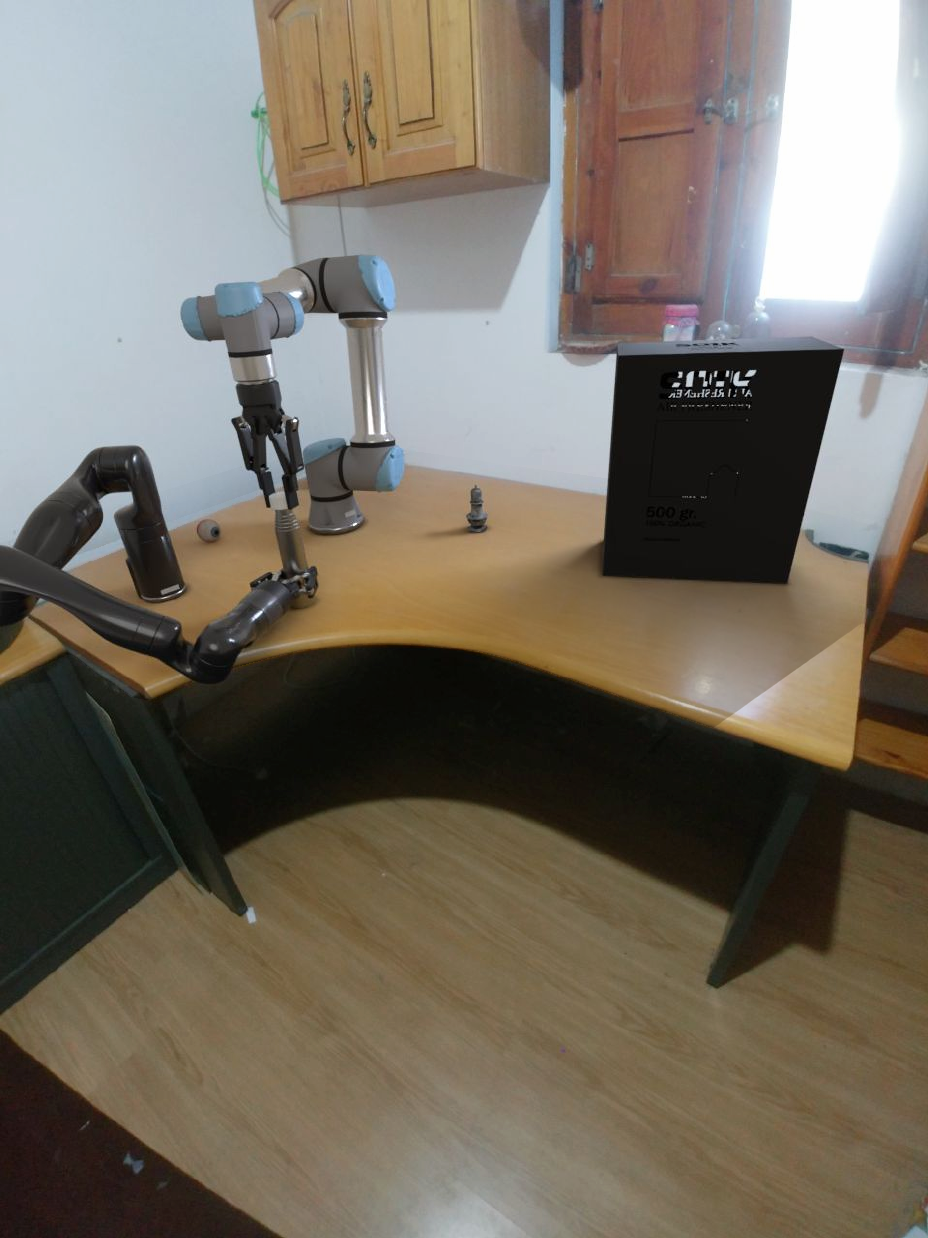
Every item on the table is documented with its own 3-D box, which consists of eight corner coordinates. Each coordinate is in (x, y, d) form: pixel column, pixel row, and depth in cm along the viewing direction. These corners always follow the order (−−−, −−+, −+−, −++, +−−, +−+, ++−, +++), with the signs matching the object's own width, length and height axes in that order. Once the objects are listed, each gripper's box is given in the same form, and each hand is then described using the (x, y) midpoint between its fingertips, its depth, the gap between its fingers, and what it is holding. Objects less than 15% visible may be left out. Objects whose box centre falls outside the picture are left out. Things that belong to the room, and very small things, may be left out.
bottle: (286, 605, 129) (262, 500, 118) (302, 595, 133) (281, 492, 121) (303, 610, 127) (280, 503, 115) (319, 600, 131) (299, 495, 119)
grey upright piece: (486, 532, 159) (485, 488, 152) (464, 532, 160) (462, 487, 154) (490, 524, 163) (488, 481, 157) (469, 523, 165) (466, 480, 159)
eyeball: (210, 546, 160) (204, 525, 157) (195, 542, 163) (189, 521, 160) (228, 538, 164) (223, 518, 161) (213, 535, 167) (208, 514, 164)
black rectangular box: (766, 545, 143) (811, 336, 120) (787, 583, 126) (844, 348, 103) (603, 539, 150) (617, 342, 128) (602, 575, 133) (618, 355, 111)
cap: (285, 500, 122) (283, 489, 121) (299, 504, 119) (296, 493, 118) (266, 507, 119) (264, 496, 118) (279, 511, 116) (277, 500, 115)
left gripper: (234, 621, 118) (276, 583, 132) (301, 627, 115) (336, 586, 129) (224, 587, 114) (268, 551, 128) (293, 592, 111) (331, 554, 125)
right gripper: (309, 377, 108) (330, 503, 119) (230, 377, 113) (258, 497, 125) (285, 384, 102) (310, 516, 113) (202, 384, 107) (234, 509, 119)
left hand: (302, 569), depth 129 cm, fingers closed on bottle, 5 cm apart
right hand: (282, 506), depth 119 cm, fingers closed on cap, 4 cm apart
